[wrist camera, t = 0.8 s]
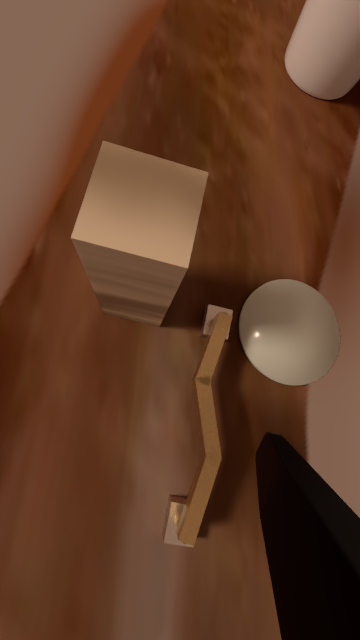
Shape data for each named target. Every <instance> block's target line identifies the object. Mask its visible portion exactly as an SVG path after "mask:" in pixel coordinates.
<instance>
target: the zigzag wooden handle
mask: <svg viewBox="0 0 360 640" xmlns="http://www.w3.org/2000/svg"><path fill="white" fill-rule="evenodd" d="M232 312H233V310H230V309H226V308H222V307H218V306H214V305H210V304H208V305H207V306H206V307H205V310H204V315H203V320H202V326H201V331H200V336H201V337H205V338H207V341H206V344H205V346H204V349H203V352H202V354H201V357H200V360H199V363H198V365H197V368H196V371H195V374H194V376H193V378H192V381H193V388H194V395H195V403H196V410H197V417H198V425H199V432H200V440H201V447H202V455H201V458H200V461H199V464H198V467H197V470H196V473H195V476H194V479H193V482H192V485H191V488H190V491H189V494H188V497H187V498H185V497H179V496H173V495H169V498H168V504H167V509H166V514H165V519H164V525H163V530H162V537H163V542H164V543H167V544H174V545H181V546H187V547H194V544H195V541H196V538H197V534H198V531H199V528H200V525H201V522H202V519H203V515H204V512H205V509H206V506H207V503H208V500H209V497H210V493H211V490H212V487H213V484H214V481H215V478H216V474H217V471H218V468H219V465H220V462H221V460H222V456H221V451H220V444H219V437H218V430H217V424H216V417H215V410H214V403H213V396H212V389H211V383H210V381H211V378H212V375H213V372H214V369H215V366H216V363H217V361H218V358H219V355H220V352H221V349H222V346H223V343H224V341H226V340H228V336H229V330H230V324H231V321H232V318H233V317H232Z"/></svg>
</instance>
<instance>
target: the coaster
mask: <svg viewBox="0 0 360 640" xmlns="http://www.w3.org/2000/svg"><path fill="white" fill-rule="evenodd" d="M238 328H239V338H240V342H241V345H242V348H243V350H244V353H245V355H246V356H247V358H248V360H249V361H250V362H251V364H252V365H253V366H254V367H255V368H256V369H257V370H258V371H259V372H260V373H261V374H262V375H264V376H265V377H267V378H268V379H270V380H272V381H275V382H277V383H280V384H285V385H305V384H309V383H312V382H314V381H316V380H318V379H320V378H321V377H323V376H324V375H325V374H326V373H327V372H328V371H329V370H330V369H331V367H332V366H333V364H334V362H335V360H336V358H337V356H338V352H339V347H340V329H339V324H338V321H337V318H336V315H335V313H334V311H333V309H332V308H331V306H330V304H329V303H328V302H327V301H326V299H325V298H324V297H323V296H322V295H321V294H320V293H319V292H318V291H316V290H315V289H314V288H312V287H310V286H309V285H307V284H305V283H302V282H299V281H296V280H290V279H279V280H274V281H270V282H267V283H265V284H263V285H262V286H260V287H259V288H257V289H256V290H255V291H254V292H253V293H252V294H251V295H250V296H249V297H248V298H247V300H246V301H245V303H244V305H243V307H242V310H241V312H240V317H239V325H238Z"/></svg>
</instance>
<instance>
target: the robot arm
mask: <svg viewBox="0 0 360 640" xmlns="http://www.w3.org/2000/svg"><path fill="white" fill-rule="evenodd" d="M255 460H256V474H257V487H258V500H259V511H260V519H261V525H262V531H263V537H264V542H265V548H266V554H267V559H268V565H269V571H270V576H271V582H272V588H273V593H274V599H275V605H276V610H277V616H278V622H279V627H280V633H281V639H282V640H360V518H359V517H358V516H357V515H356V514H355V513H354V512H353V511H352V509H351V508H350V507H348V505H347V504H346V503H345V502H344V501H343V500H342V499H341V498H340V497H339V496H338V495H337V494H336V492H335V491H334V490H333V489H332V488H331V487H330V486H329V485H328V484H327V483H326V482H325V481H324V480H323V479H322V478H321V476H320V475H319V474H318V473H317V472H316V471H315V470H314V469H313V468H312V467H311V466H310V465H309V464H308V463H307V462H306V460H305V459H304V458H303V457H302V456H301V455H300V454H299V453H298V452H297V451H296V450H295V449H294V448H293V447H292V446H291V445H290V443H289V442H288V441H287V440H286V439H285V438H284V437H283V436H282V435H280V434H277V433H273V432H266V433H265V435H264V437H263V439H262V441H261V443H260V445H259V447H258V449H257V452H256V458H255Z"/></svg>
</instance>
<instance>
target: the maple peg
mask: <svg viewBox="0 0 360 640" xmlns="http://www.w3.org/2000/svg"><path fill="white" fill-rule="evenodd" d="M207 177H208V172H205V171H201V170H198V169H195V168H192V167H188V166H185V165H182V164H178V163H175V162H172V161H168V160H165V159H162V158H159V157H155V156H152V155H149V154H145V153H142V152H139V151H135V150H132V149H129V148H126V147H122V146H119V145H116V144H112V143H109V142H106V141H103V143H102V146H101V149H100V152H99V155H98V158H97V161H96V164H95V167H94V170H93V173H92V176H91V179H90V182H89V185H88V188H87V191H86V194H85V197H84V200H83V203H82V206H81V209H80V212H79V215H78V218H77V221H76V224H75V227H74V230H73V233H72V236H71V239H72V241H73V244H74V246H75V248H76V251H77V253H78V255H79V258H80V260H81V262H82V264H83V267H84V269H85V271H86V274H87V276H88V278H89V281H90V283H91V285H92V287H93V290H94V292H95V294H96V297H97V299H98V301H99V304H100V306H101V308H102V311H103V313H104V314H107V315H112V316H116V317H120V318H124V319H129V320H133V321H137V322H141V323H146V324H150V325H154V326H158V327H160V325H161V322H162V320H163V318H164V316H165V314H166V312H167V310H168V308H169V306H170V304H171V302H172V300H173V298H174V296H175V294H176V292H177V290H178V288H179V286H180V284H181V282H182V280H183V277H184V275H185V273H186V271H187V269H188V266H189V261H190V256H191V252H192V247H193V242H194V238H195V233H196V228H197V224H198V219H199V214H200V210H201V205H202V200H203V196H204V191H205V186H206V181H207Z"/></svg>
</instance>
